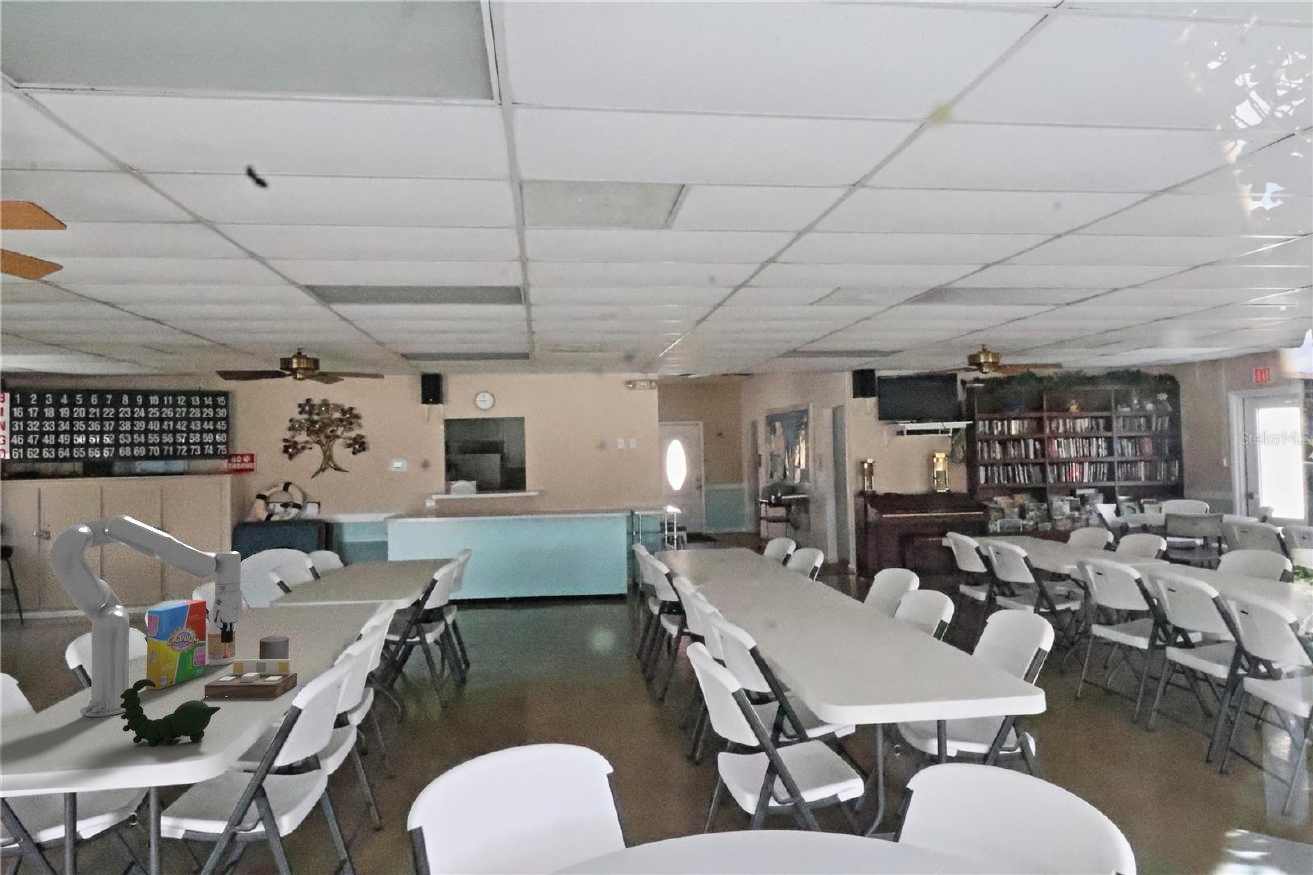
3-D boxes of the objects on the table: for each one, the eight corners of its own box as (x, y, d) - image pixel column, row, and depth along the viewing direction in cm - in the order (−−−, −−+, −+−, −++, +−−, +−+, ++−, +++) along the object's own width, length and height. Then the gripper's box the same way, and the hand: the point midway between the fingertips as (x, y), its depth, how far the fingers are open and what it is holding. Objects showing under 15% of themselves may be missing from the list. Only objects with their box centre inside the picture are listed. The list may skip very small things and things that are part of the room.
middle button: (252, 683, 253) (252, 676, 253) (241, 683, 253) (241, 676, 253) (259, 679, 257) (259, 672, 257) (247, 680, 257) (247, 672, 257)
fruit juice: (209, 667, 287) (210, 593, 288) (205, 662, 294) (206, 590, 295) (237, 663, 293) (238, 590, 294) (232, 658, 300) (233, 588, 301)
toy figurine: (117, 757, 203) (215, 743, 205) (111, 687, 203) (208, 674, 206) (137, 744, 212) (230, 731, 215) (131, 677, 212) (224, 665, 215)
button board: (275, 697, 248) (275, 684, 249) (204, 697, 249) (204, 685, 249) (297, 684, 262) (297, 673, 263) (229, 685, 263) (229, 673, 263)
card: (289, 674, 261) (289, 659, 261) (232, 674, 261) (232, 660, 262) (290, 673, 262) (290, 659, 262) (233, 674, 262) (233, 659, 262)
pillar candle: (252, 677, 271) (253, 636, 272) (276, 670, 280) (277, 630, 281) (271, 681, 267) (271, 639, 268) (294, 674, 276) (295, 633, 276)
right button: (276, 687, 253) (276, 679, 253) (264, 687, 253) (264, 679, 253) (282, 683, 257) (282, 676, 257) (270, 683, 257) (270, 676, 257)
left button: (229, 687, 253) (229, 680, 253) (217, 687, 253) (217, 680, 253) (236, 683, 257) (236, 676, 257) (224, 683, 257) (224, 676, 257)
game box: (158, 690, 258) (159, 610, 259) (145, 689, 259) (146, 610, 260) (206, 673, 278) (206, 600, 279) (193, 673, 279) (194, 599, 280)
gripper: (225, 591, 248) (224, 647, 248) (250, 584, 263) (250, 637, 263) (203, 591, 249) (202, 647, 248) (229, 584, 264) (229, 637, 263)
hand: (226, 642), depth 255 cm, fingers closed
